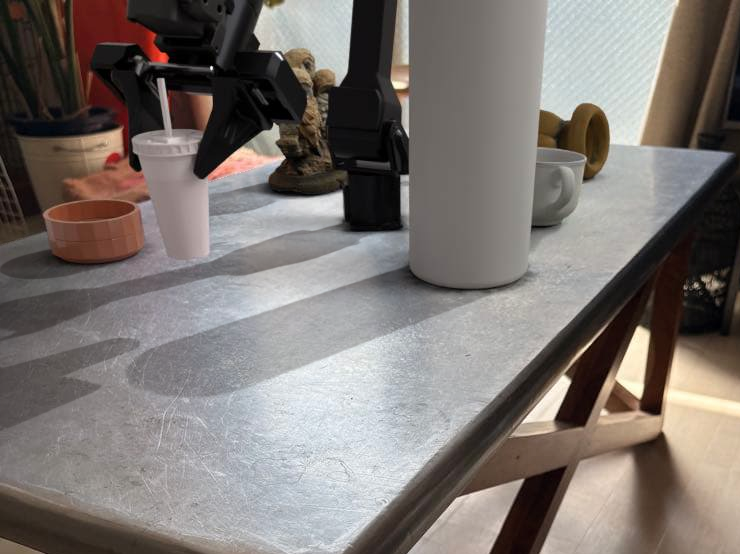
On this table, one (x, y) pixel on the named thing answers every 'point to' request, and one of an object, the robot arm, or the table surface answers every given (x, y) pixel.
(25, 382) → the table surface
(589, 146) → the brown looped sculpture
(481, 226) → the cylinder vase
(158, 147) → the smoothie
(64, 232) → the bowl
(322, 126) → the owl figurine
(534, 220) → the teacup
